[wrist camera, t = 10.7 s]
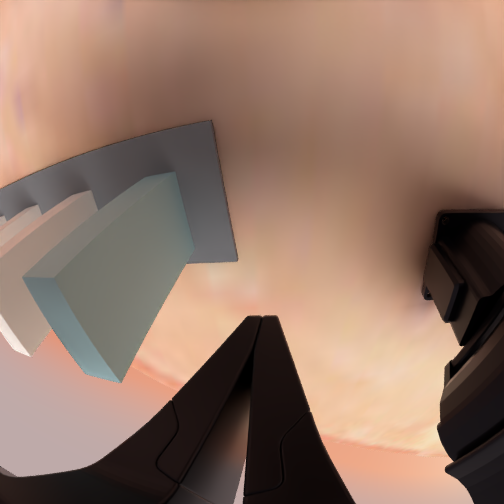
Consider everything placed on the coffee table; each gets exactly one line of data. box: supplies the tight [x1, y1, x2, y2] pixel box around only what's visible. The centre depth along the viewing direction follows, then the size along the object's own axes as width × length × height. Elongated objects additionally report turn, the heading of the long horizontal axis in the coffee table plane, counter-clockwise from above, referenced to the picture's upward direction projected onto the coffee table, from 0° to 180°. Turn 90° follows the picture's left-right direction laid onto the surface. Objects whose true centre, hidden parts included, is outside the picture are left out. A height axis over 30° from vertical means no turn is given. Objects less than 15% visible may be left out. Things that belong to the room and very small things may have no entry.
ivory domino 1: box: [0, 205, 42, 247], centre depth 15 cm, size 2×5×10 cm, turn 9°
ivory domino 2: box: [0, 190, 98, 357], centre depth 14 cm, size 2×5×10 cm, turn 9°
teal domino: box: [22, 172, 195, 383], centre depth 12 cm, size 2×5×10 cm, turn 8°
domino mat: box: [0, 120, 238, 264], centre depth 18 cm, size 25×8×1 cm, turn 99°
